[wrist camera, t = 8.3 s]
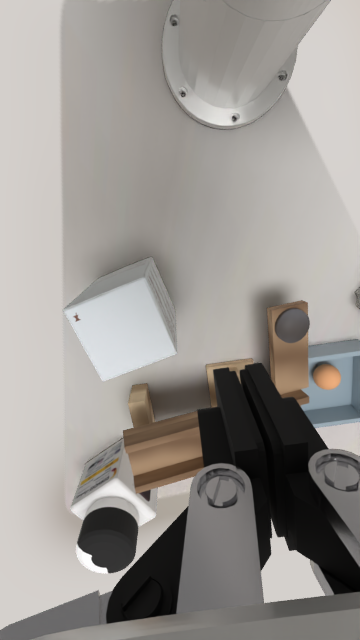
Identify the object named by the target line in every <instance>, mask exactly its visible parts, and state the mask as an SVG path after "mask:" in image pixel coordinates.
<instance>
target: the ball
mask: <svg viewBox="0 0 360 640" xmlns="http://www.w3.org/2000/svg"><path fill="white" fill-rule="evenodd" d="M313 379H314V382H315V383H316V385H317V386H319V387H320V388H322V389H325V390H331V389H334V388H336V387H337V386H338V385H339V384H340V381H341V375H340V372H339V370H338V369H337V368H336V367H334V366H332V365H329V364H323V365H320V366H318V367H317V368H316V369H315V370H314V373H313Z"/></svg>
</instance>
